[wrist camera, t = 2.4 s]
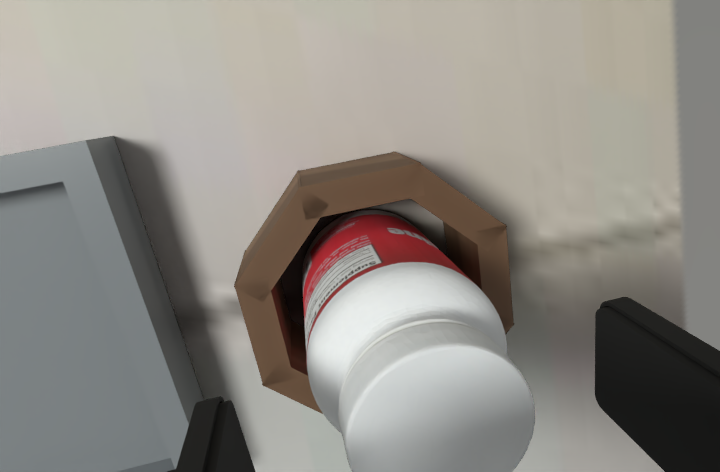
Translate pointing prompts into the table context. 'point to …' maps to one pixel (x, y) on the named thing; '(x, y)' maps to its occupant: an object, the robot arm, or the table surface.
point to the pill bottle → (409, 353)
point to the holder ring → (342, 194)
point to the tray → (85, 321)
